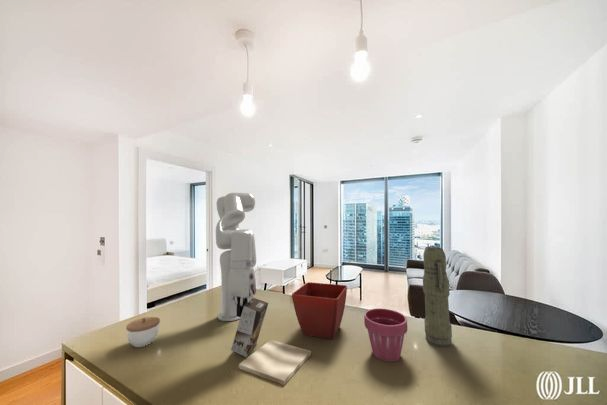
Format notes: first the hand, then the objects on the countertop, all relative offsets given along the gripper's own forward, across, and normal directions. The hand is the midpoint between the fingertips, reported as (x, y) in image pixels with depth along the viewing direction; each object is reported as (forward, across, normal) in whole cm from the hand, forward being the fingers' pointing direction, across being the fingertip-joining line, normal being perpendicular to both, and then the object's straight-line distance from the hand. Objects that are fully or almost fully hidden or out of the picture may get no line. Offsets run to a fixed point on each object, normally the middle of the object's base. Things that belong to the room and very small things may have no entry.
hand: (241, 315), depth 87 cm
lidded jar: (+12, +37, +14) cm, 41 cm away
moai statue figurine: (+12, -63, -39) cm, 75 cm away
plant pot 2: (+12, -47, -21) cm, 53 cm away
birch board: (+12, -16, 0) cm, 20 cm away
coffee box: (+11, -1, 0) cm, 11 cm away
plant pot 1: (+12, -20, -26) cm, 35 cm away
